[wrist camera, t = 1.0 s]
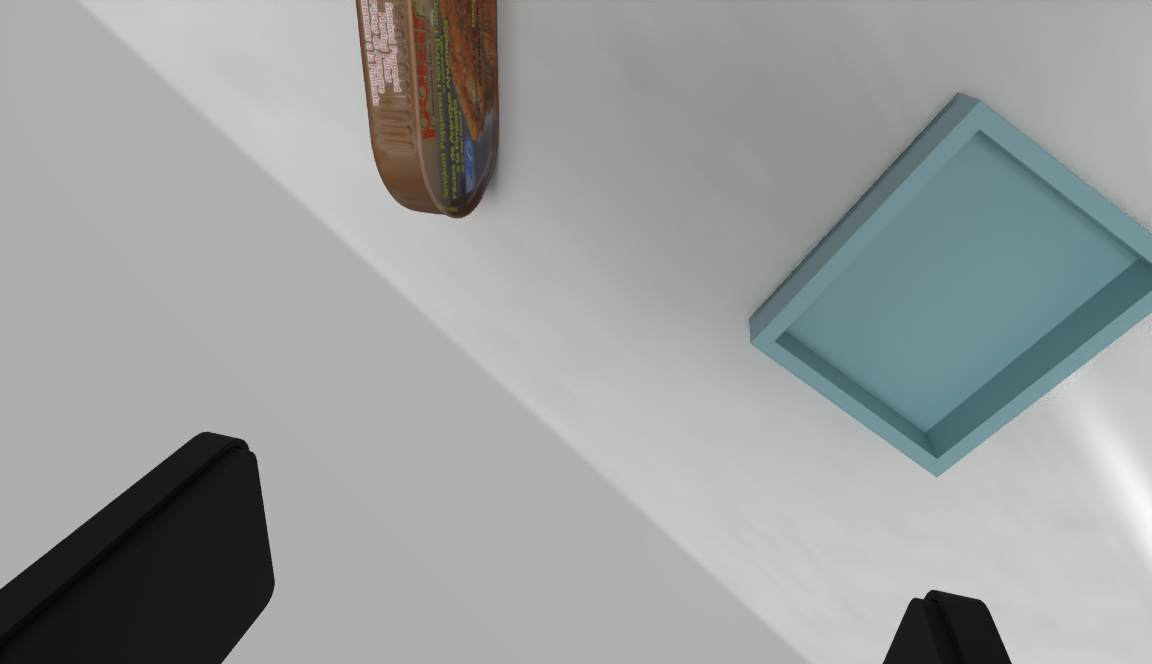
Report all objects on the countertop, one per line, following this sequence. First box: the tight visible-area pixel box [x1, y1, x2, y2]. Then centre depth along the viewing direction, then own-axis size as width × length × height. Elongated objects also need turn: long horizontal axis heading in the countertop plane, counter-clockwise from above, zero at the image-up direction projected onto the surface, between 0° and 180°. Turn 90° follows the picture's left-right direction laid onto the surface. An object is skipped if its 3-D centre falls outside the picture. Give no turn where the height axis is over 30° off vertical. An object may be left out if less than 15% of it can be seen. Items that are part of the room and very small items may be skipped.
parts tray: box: [749, 93, 1152, 477], centre depth 32 cm, size 14×12×3 cm
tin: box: [356, 0, 499, 218], centre depth 29 cm, size 15×3×8 cm, turn 178°
